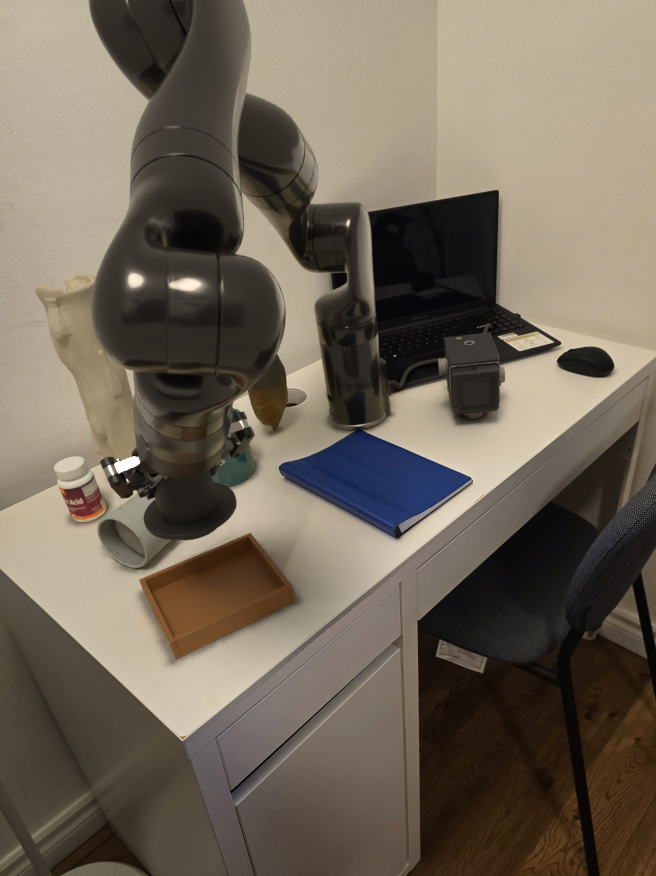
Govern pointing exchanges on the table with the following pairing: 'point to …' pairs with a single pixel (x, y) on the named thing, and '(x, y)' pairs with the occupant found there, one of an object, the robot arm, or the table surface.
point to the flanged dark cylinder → (189, 508)
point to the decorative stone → (270, 395)
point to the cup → (235, 467)
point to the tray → (216, 593)
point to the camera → (472, 374)
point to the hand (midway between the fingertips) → (177, 478)
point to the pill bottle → (79, 489)
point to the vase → (91, 366)
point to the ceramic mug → (129, 534)
